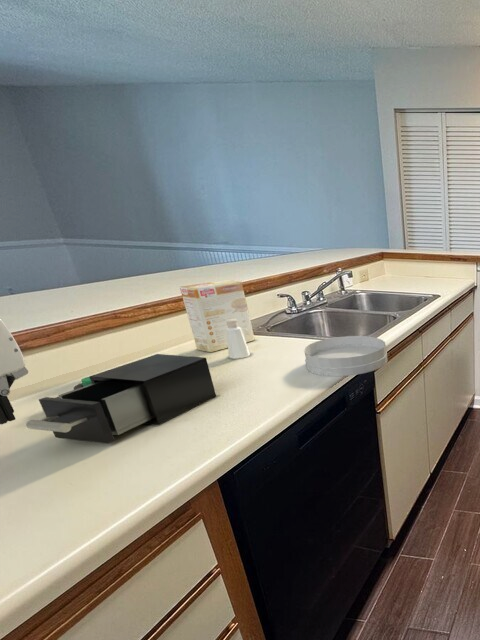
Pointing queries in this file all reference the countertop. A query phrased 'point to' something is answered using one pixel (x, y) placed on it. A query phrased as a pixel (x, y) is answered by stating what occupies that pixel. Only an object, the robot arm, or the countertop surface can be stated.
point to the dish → (345, 355)
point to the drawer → (95, 412)
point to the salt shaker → (236, 340)
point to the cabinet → (166, 383)
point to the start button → (86, 381)
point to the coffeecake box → (216, 312)
